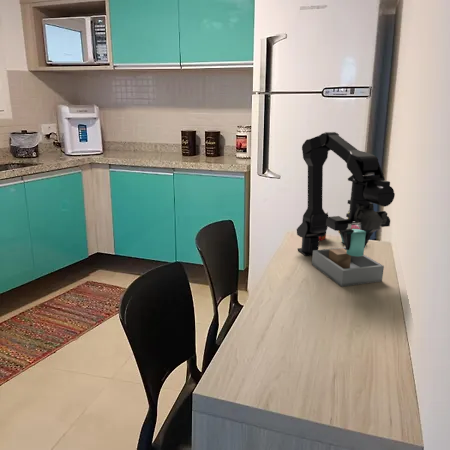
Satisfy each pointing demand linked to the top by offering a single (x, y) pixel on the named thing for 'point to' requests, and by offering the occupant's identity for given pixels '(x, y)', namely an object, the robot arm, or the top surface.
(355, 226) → the cupcake
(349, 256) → the tan wooden cube
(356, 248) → the teal capsule
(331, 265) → the grey rectangular tray
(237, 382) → the top surface
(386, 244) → the top surface
